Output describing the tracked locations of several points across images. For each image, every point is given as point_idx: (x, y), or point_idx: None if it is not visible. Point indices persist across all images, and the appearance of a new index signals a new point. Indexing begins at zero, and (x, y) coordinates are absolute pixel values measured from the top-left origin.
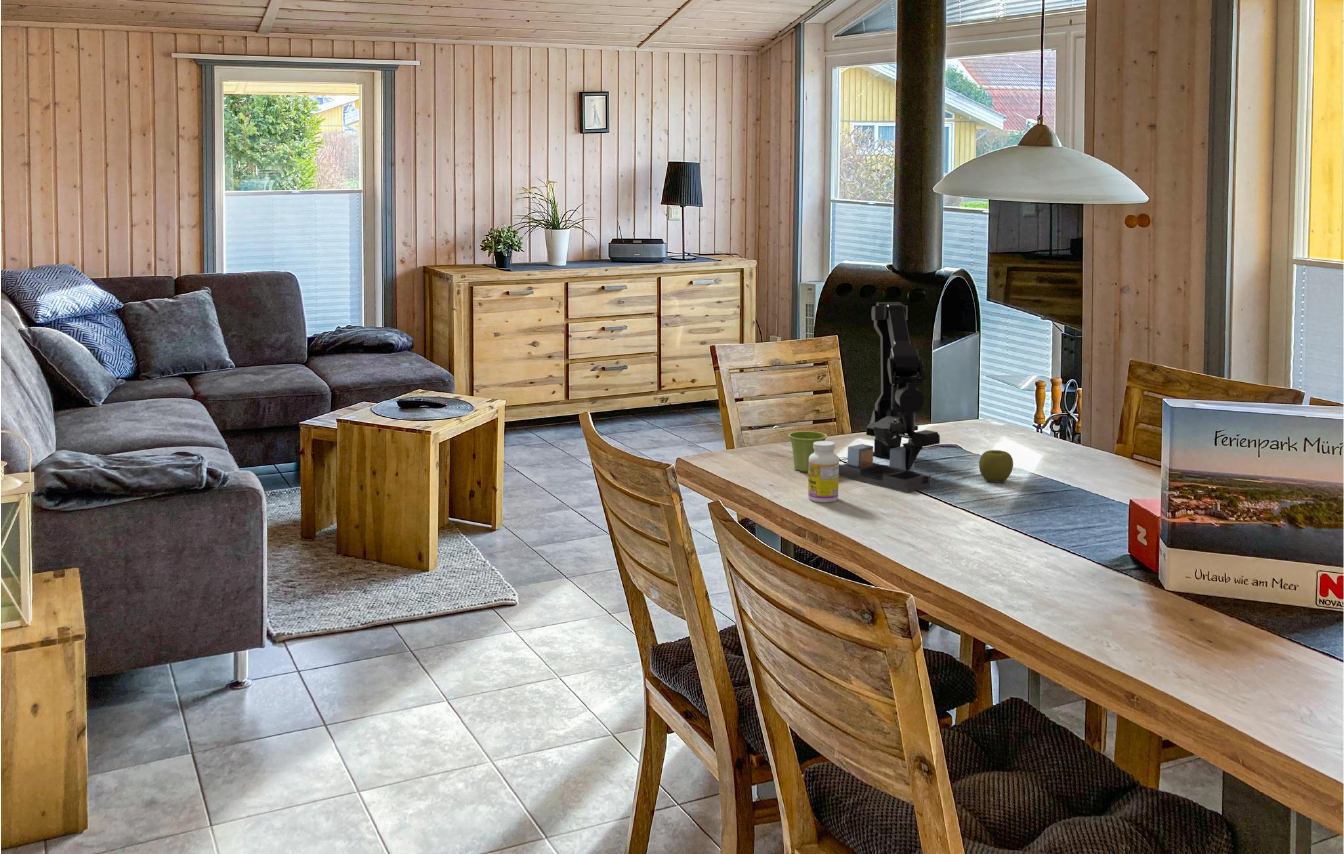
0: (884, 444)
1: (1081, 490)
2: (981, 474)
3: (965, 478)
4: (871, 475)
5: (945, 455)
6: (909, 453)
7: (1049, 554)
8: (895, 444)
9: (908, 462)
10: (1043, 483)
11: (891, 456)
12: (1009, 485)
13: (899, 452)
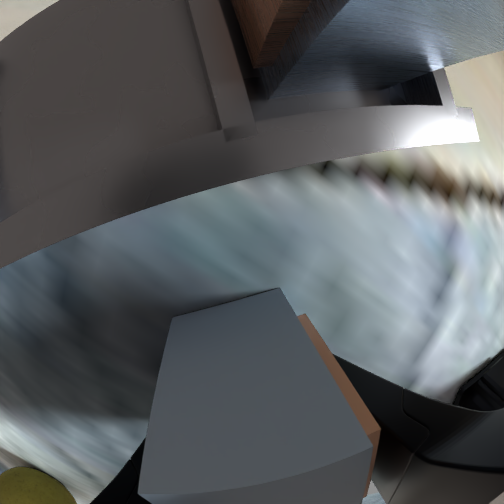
0: (494, 412)
1: None
2: (39, 482)
3: (74, 469)
4: (122, 18)
5: (363, 500)
6: (105, 493)
7: None
8: (407, 497)
9: None
10: None
11: (303, 382)
12: (13, 465)
13: (167, 472)
